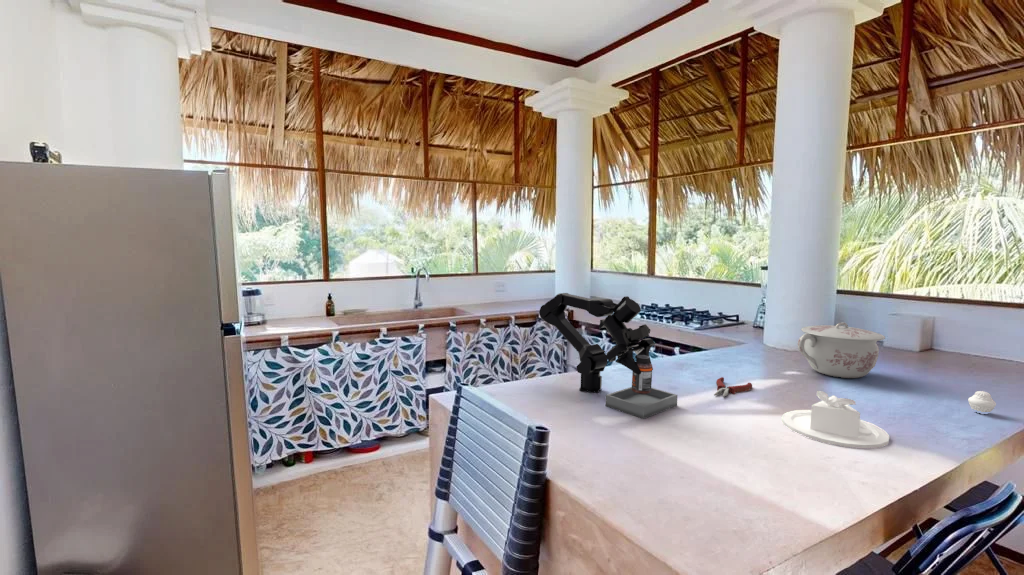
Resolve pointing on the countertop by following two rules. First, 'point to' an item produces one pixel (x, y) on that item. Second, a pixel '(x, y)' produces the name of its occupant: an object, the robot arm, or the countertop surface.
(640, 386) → the supplement bottle
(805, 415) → the dish
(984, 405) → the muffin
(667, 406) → the tray
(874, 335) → the chamber pot
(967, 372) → the countertop surface
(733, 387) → the pliers
